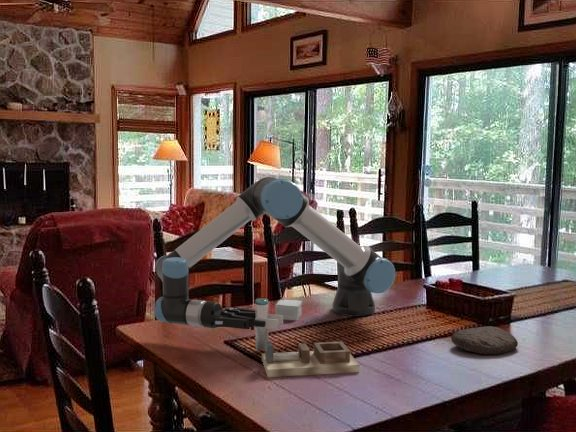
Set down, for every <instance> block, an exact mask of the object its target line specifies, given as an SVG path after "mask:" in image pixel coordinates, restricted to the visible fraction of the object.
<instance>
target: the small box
mask: <svg viewBox="0 0 576 432" xmlns="http://www.w3.org/2000/svg"><path fill="white" fill-rule="evenodd" d="M302 303H303V301H302V300H296V299H293V300H292V299H283V298H282V299H280V300H278V301H277V303H275V305H274V306H275V308H274V310H275V311H274V315H283V321H298V320H299V318H300V317H301V316H302V311H303V310H302Z"/></svg>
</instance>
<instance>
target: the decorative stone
mask: <svg viewBox="0 0 576 432" xmlns="http://www.w3.org/2000/svg"><path fill="white" fill-rule="evenodd" d="M450 337H451V340H450V341H451V342H452V343H453V344H454V345H455V346H457V347H458V348H460V349H463V350H465V351H467V352H473V353H477V354H482V355H498V354H505V353H508V352H511V351H514V350H515V349H516V348H517V347H518V344H519V343H518V340H517V339H516V337H515V336H514V335H512V333H510V332H508V331H506V330H505V329H502V328H500V327H498V326H492V325H491V326H490V325H489V326H488V325H486V326H479V327H471V328H470V327H469V328H464V329H460V330H458V331H456V332H453V333H452V334H451V336H450Z"/></svg>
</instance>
